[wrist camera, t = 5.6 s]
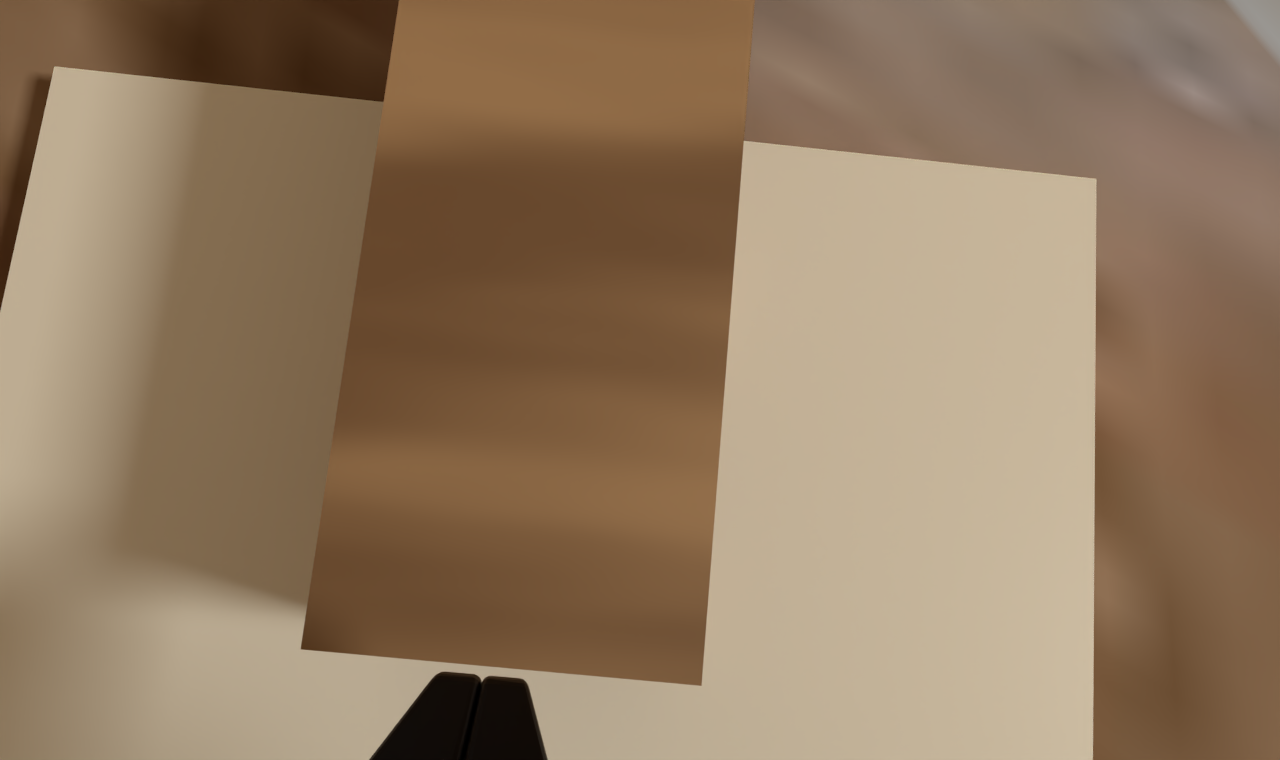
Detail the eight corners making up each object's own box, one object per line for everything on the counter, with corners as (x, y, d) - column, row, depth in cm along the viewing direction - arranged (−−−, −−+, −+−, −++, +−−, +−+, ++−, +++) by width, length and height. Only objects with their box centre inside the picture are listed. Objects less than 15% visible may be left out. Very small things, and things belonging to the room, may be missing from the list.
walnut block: (701, 686, 11) (777, -295, 14) (300, 649, 11) (449, -334, 14) (670, 654, 16) (732, -85, 18) (381, 627, 16) (483, -114, 18)
